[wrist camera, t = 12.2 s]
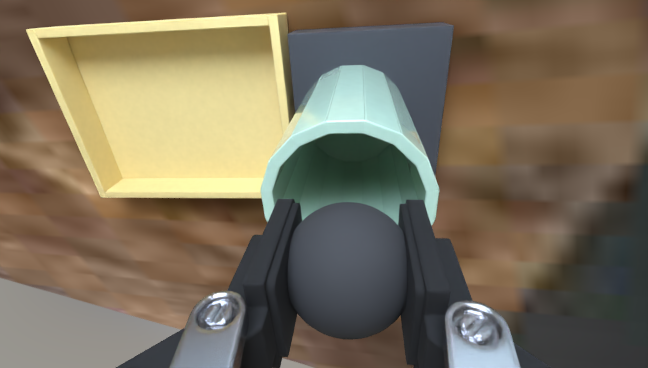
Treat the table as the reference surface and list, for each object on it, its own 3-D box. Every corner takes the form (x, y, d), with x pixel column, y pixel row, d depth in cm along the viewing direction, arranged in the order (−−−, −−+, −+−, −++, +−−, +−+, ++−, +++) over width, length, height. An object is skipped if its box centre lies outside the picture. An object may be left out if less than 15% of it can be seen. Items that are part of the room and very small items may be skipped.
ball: (340, 156, 10) (330, 234, 7) (431, 223, 11) (461, 321, 8) (274, 231, 12) (239, 323, 9) (357, 285, 13) (355, 387, 10)
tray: (286, 12, 23) (277, 14, 20) (303, 181, 29) (297, 198, 26) (59, 26, 24) (25, 29, 22) (122, 181, 31) (100, 197, 28)
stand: (442, 22, 22) (454, 25, 19) (426, 169, 27) (433, 187, 25) (295, 30, 23) (287, 34, 20) (307, 170, 28) (302, 187, 26)
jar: (408, 62, 21) (449, 118, 11) (401, 163, 24) (428, 272, 14) (297, 67, 21) (248, 122, 12) (306, 164, 25) (273, 268, 15)
